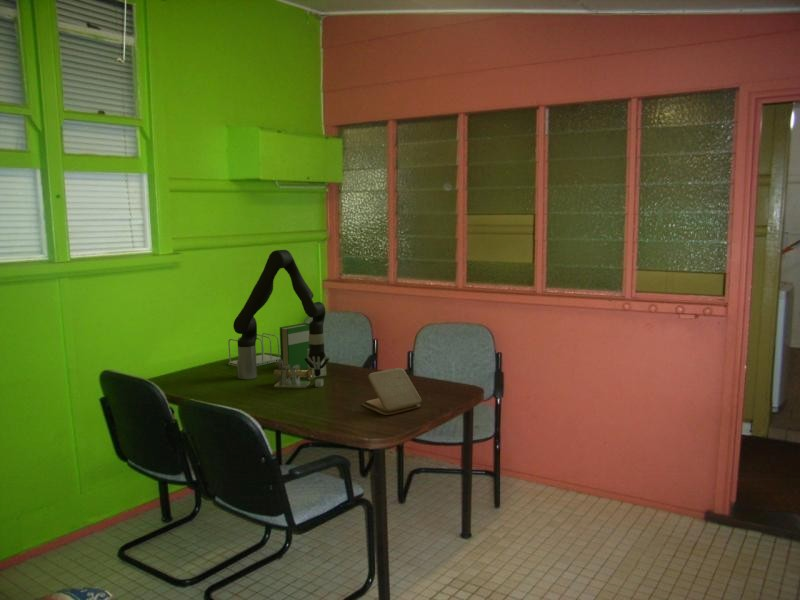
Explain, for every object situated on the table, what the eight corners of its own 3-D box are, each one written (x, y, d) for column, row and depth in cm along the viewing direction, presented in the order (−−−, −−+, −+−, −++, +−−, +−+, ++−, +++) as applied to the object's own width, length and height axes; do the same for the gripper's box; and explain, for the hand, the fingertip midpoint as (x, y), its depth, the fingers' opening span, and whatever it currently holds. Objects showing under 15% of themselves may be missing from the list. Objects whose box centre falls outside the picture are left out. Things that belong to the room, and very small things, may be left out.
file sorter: (264, 357, 393) (262, 331, 391) (281, 361, 381) (280, 335, 379) (228, 364, 375) (226, 338, 372) (245, 369, 363) (244, 342, 361)
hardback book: (289, 372, 355) (287, 328, 352) (281, 369, 360) (279, 327, 357) (314, 366, 368) (313, 324, 365) (306, 364, 373) (305, 322, 370)
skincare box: (322, 373, 351) (321, 346, 349) (326, 375, 346) (325, 348, 344) (307, 375, 347) (306, 348, 345) (312, 378, 342) (311, 350, 340)
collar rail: (274, 387, 326) (273, 363, 324) (280, 382, 335) (279, 359, 333) (320, 388, 323) (319, 364, 321) (324, 382, 332) (323, 360, 330)
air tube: (273, 380, 327) (272, 369, 326) (276, 377, 332) (276, 366, 332) (310, 380, 324) (310, 369, 324) (313, 377, 330) (313, 367, 329)
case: (386, 417, 277) (385, 380, 275) (359, 405, 294) (359, 370, 292) (423, 408, 289) (423, 373, 287) (396, 397, 306) (396, 364, 304)
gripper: (301, 343, 321) (302, 377, 324) (327, 344, 320) (328, 378, 322) (305, 340, 329) (306, 374, 331) (331, 341, 327) (332, 374, 330)
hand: (317, 376), depth 327 cm, fingers closed
